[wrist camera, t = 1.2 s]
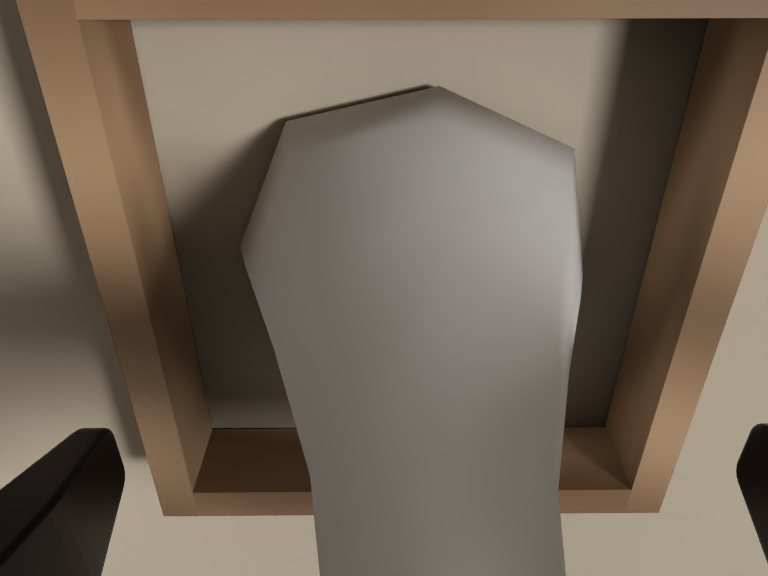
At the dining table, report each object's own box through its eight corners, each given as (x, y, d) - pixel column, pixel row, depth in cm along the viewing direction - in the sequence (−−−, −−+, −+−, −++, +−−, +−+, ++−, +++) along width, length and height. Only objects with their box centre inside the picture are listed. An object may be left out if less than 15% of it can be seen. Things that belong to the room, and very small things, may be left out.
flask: (245, 373, 15) (74, 986, 7) (238, 61, 11) (-192, 574, 3) (540, 394, 16) (735, 997, 7) (630, 101, 12) (1299, 651, 3)
